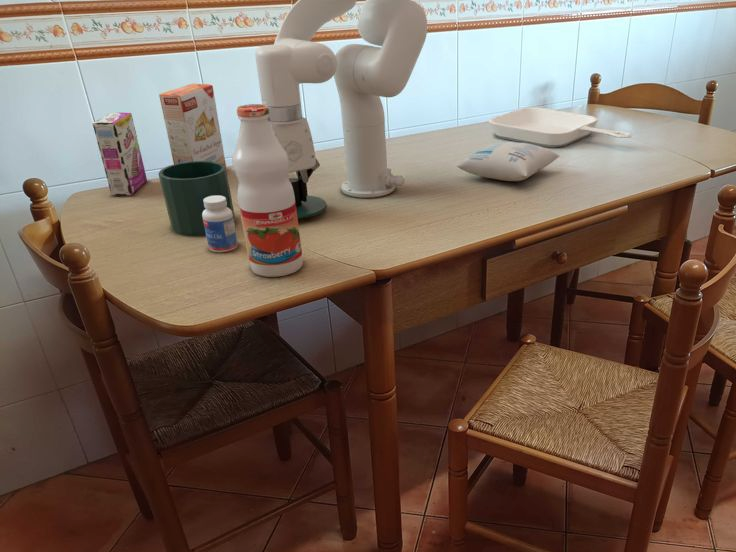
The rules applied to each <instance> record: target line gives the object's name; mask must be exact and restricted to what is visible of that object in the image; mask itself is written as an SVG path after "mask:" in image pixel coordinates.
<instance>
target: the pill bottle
mask: <svg viewBox="0 0 736 552" xmlns="http://www.w3.org/2000/svg"><path fill="white" fill-rule="evenodd" d="M203 202H204V207H205V208H206V209H205V210H204V211H203V213H202V217H203V222H204V227H205V232H206V235H205V238H206V243H207V246H208V249H209V250H210V252H211V251H212V252H214V253H227V252H231V251H233V250H236V248H238V237H237V232H236V231H237V230H236V226H235V225H236V224H234V219H233V214H232V211H231V209H229V208H228V207H226V206H227V201H226V198H225V197H224V196H209V197H206V198H204V200H203Z"/></svg>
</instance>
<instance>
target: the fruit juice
mask: <svg viewBox="0 0 736 552" xmlns="http://www.w3.org/2000/svg"><path fill="white" fill-rule="evenodd" d="M236 116H237V118H238V120H239V122H240V125H239V129H238V137H237V141H236V142H237V143H236V147H235V149H234V152H233V154H232V159H231V162H232V163H231V164H232V168H233V172H234V174H235V176H236V178H237V181H238V185H237V190H236V194H237V202H238V207H239V212H240V218H241V224H242V225H241V226H242V229H243V235H244V240H245V247H246V251H247V258H248V262H249V266H250V269H251V271H252V272H253V273H254V274H255V275H257V276H261V277H264V278H265V277H267V278H279V277H284V276H288V275H291V274H294V273H296V272H298V271H299V270H300V269H301V268H302V267H303V264H304V256H303V249H302V242H301V235H300V227H299V218H298V219H297V211H296V203H295V196H294V191H293V187H292V184H291V182H290V181H289V178H290V177H289V173H288V172H289V159H288V155H287V153H286V151H285V150H284V149H283V148H282V146H281V145H280V143H279V141H278V139H277V137H276V136H275V134H274V132H273V129H272V127H271V125H270V124H269V121H268V118H269V110H268V107H267V106H266V105H262V103H251V104H250V103H249V104H243V105H240V106H237V107H236Z"/></svg>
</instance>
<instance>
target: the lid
mask: <svg viewBox="0 0 736 552" xmlns="http://www.w3.org/2000/svg"><path fill="white" fill-rule="evenodd" d="M288 178H289V181H290V182H291V184H292V187H293V191H294V196H295V203H296V211H297V219H298V220H299V219H305V218H309V217H314V216H317V215H319V214H321V213H323V212H324V211H326V210H327V207H328V204H327V202H326V200H325V199H324V198H321V197H319V196H315V195H309V194H308V196H306V197H307V201H306V202H304V201H302V200H301V191H300V183H299V179H298V178H297V177H288Z"/></svg>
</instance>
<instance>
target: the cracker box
mask: <svg viewBox="0 0 736 552" xmlns="http://www.w3.org/2000/svg"><path fill="white" fill-rule="evenodd" d="M158 96H159V97H158V98H159V102H160V106H161V111H162V115H163V120H164V125H165V130H166V135H167V139H168V143H169V149H170V153H171V157H172V163H173V165H174V164H178V163H184V162H191V161H211V162H217V163H221V164H223V165H224V166H225V167H226V170H227V163H226V157H225V151H224V145H223V140H222V134H221V128H220V121H219V115H218V110H217V104H216V97H215V92H214V87H213V85H212V84H209V83H208V84H207V83H190V84H187V85H183V86H181V87H178V88H174V89H170V90H168V91H164V92H161V93H159V94H158Z"/></svg>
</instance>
